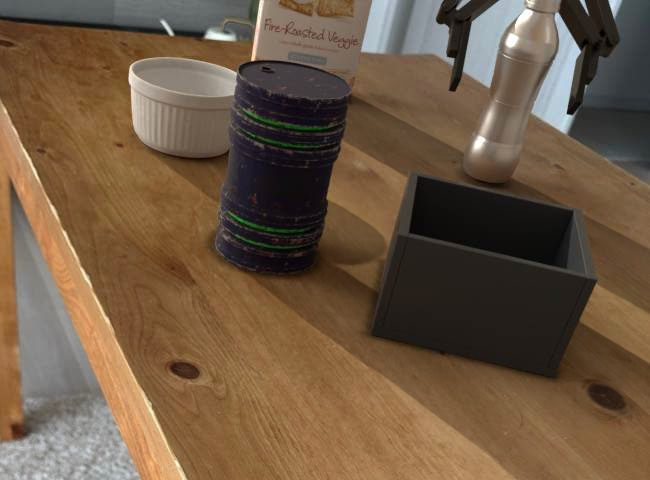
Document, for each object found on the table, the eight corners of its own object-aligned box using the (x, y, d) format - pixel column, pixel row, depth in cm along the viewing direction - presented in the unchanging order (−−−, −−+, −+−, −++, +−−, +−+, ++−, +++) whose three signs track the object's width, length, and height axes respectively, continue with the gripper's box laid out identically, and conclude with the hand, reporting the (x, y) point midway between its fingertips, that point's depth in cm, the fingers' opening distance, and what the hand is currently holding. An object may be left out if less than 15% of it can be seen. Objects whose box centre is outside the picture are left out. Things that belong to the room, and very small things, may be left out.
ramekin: (102, 126, 99) (104, 59, 95) (191, 114, 107) (198, 52, 102) (174, 171, 93) (180, 101, 88) (264, 155, 100) (274, 90, 96)
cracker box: (250, 89, 118) (276, -100, 103) (248, 75, 122) (273, -108, 108) (351, 104, 119) (391, -80, 105) (346, 90, 124) (383, -88, 110)
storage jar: (336, 254, 84) (374, 87, 74) (282, 286, 77) (316, 108, 67) (251, 217, 87) (276, 53, 77) (192, 245, 81) (211, 70, 71)
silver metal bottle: (446, 172, 105) (504, -20, 92) (480, 165, 109) (541, -21, 95) (488, 193, 102) (554, -3, 88) (522, 185, 106) (590, -4, 92)
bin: (544, 299, 83) (582, 209, 77) (553, 377, 73) (598, 280, 67) (384, 262, 84) (409, 170, 78) (370, 334, 73) (398, 234, 67)
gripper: (640, -40, 102) (609, 135, 101) (431, -82, 102) (398, 93, 101) (672, -88, 95) (639, 100, 94) (447, -134, 94) (412, 54, 93)
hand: (514, 97), depth 97 cm, fingers open, 13 cm apart
